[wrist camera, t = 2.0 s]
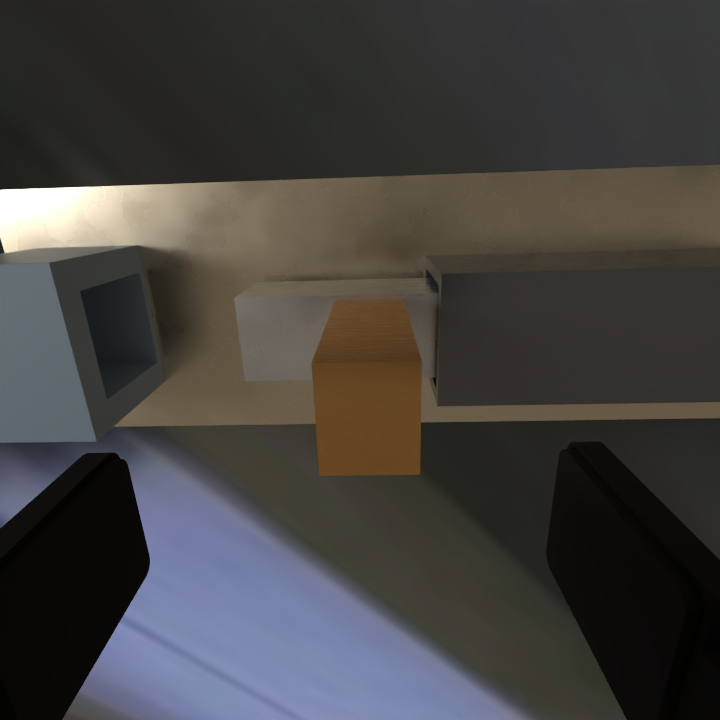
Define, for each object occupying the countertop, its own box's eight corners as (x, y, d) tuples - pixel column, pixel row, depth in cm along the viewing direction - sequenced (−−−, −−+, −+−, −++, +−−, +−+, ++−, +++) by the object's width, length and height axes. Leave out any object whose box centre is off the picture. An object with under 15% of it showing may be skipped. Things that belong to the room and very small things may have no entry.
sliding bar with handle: (702, 270, 23) (1032, 341, 11) (685, 345, 24) (963, 475, 13) (256, 282, 23) (147, 359, 12) (264, 353, 25) (173, 482, 14)
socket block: (138, 245, 24) (48, 262, 17) (164, 381, 27) (96, 441, 20) (39, 248, 24) (-87, 266, 18) (75, 383, 27) (-21, 442, 20)
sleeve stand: (779, 163, 23) (945, 149, 16) (712, 410, 27) (820, 477, 21) (1, 190, 24) (-139, 187, 18) (67, 419, 29) (-23, 485, 22)
